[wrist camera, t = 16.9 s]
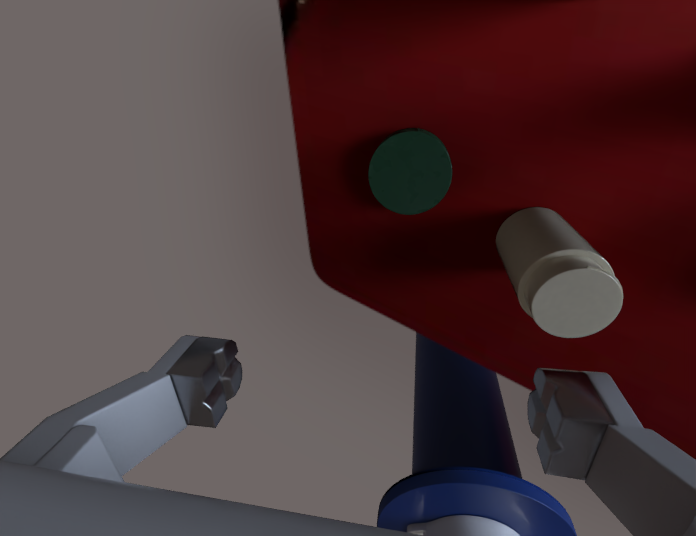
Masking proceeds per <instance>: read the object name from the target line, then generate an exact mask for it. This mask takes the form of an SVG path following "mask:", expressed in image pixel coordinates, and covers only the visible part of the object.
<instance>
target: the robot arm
mask: <svg viewBox="0 0 696 536" xmlns="http://www.w3.org/2000/svg"><path fill="white" fill-rule="evenodd" d="M237 352H238V350H237V346H236V342H234V341H232V340H226V339H218V338H210V337H198V336H190V335H185V336H183V337H181V338H180V339H179V340H178V341H177V342H176V343H175V344H174V345H173V346H172V347H171V348H170V349H169V350H168V351H167V352H166V353H165V354H164V355H163V356H162V357H161V359H160V360H159V361H158V362H157V363H156V364H155V365H154V366H153V367H152V368H151V369H150V370H149V371H148V372H141V373H139V374H137V375H135V376H133V377H131V378H128V379H126V380H124V381H122V382H120V383H118V384H116V385H114V386H112V387H110V388H107V389H105V390H103V391H101V392H99V393H97V394H95V395H93V396H91V397H89V398H86V399H84V400H82V401H80V402H78V403H77V404H74V405H72V406H70V407H68V408H65V409H63V410H61V411H59V412H57V413H55V414H53V415H51V416H49V417H47V418H46V419H44V420H43V421H42V422H41V423H40V424H39V425H37V426H36V427H35V428H34V429H33V430H32V431H31V432H30V433H29V434H27V435H26V436H25V437H24V438H23V439H22V440H21V441H20V442H18V443H17V444H16V445H15V446H14V447H13V448H12V449H11V450H10V451H8V452H7V453H6V454H5V455H4V456H3V457H2V458H0V536H520V535H519V534H518V533H517V532H516V531H514V530H513V529H511V528H510V527H508V526H506V525H504V524H502V523H500V522H497V521H494V520H491V519H488V518H484V517H478V516H470V515H454V516H447V517H442V518H439V519H436V520H434V521H431V522H427V523H414V524H410V525H408V526H407V532H401V531H396V530H390V529H384V528H379V527H373V526H367V525H362V524H355V523H350V522H345V521H339V520H333V519H327V518H322V517H317V516H311V515H305V514H300V513H294V512H289V511H283V510H277V509H272V508H266V507H260V506H255V505H249V504H243V503H238V502H232V501H227V500H221V499H215V498H210V497H204V496H199V495H193V494H187V493H182V492H176V491H170V490H165V489H159V488H153V487H148V486H142V485H137V484H131V483H125V482H124V480H123V478H122V475H124V474H125V473H126V472H128V471H129V470H130V469H132V468H133V467H134V466H136V465H137V464H138V463H140V462H141V461H142V460H144V459H145V458H146V457H148V456H149V455H150V454H151V453H153V452H154V451H155V450H157V449H158V448H159V447H161V446H162V445H163V444H165V443H166V442H167V441H169V440H170V439H171V438H173V437H174V436H175V435H177V434H178V433H179V432H180V431H182V430H183V429H184V428H186V427H187V425H194V426H204V427H213V428H216V426H217V425H218V423H219V421H220V420H221V418H222V416H223V415H224V413H225V411H226V410H227V404H226V401H228V400H229V399H231V398H232V397H234V396H235V395H236V393H237V391H238V389H239V388H240V384H241V380H242V367H241V363H240V362H239V361H238V360H237V359H236V358H235V355H236V354H237ZM533 381H534V383H535V386H536V389H535V390H533V391H532V392H531V393H530V395H529V399H528V420H529V424H530V428H531V431H532V433H533V434H535V435H536V436H537V437H538V438H539V441H538V445H537V451H538V454H539V457H540V460H541V463H542V466H543V469H544V473H545V474H550V475H556V476H562V477H568V478H575V479H580V480H586V481H585V483H586V484H587V485H588V486H589V487H590V488H591V489H592V491H593V492H594V493H595V494H596V495H597V496H598V497H599V498H600V499H601V500H602V502H603V503H604V504H605V505H606V506H607V507H608V508H609V509H610V510H611V512H612V513H613V514H614V515H615V516H616V517H617V518H618V519H619V520H620V522H621V523H622V524H623V525H624V526H625V527H626V528H627V529H628V530H629V531H630V533H631V534H632V535H633V536H696V460H695V459H694V458H692V457H691V456H689V455H688V454H686V453H685V452H683V451H682V450H681V449H679V448H678V447H676V446H675V445H673V444H672V443H670V442H669V441H668V440H666V439H665V438H663V437H662V436H660V435H659V434H657V433H656V432H655V431H653V430H651V429H644V428H643V426H642V424H641V423H640V421H639V420H638V418H637V417H636V415H635V414H634V412H633V410H632V409H631V407H630V406H629V404H628V403H627V401H626V400H625V398H624V397H623V395H622V393H621V392H620V390H619V389H618V387H617V386H616V384H615V383H614V381H613V379H612V378H611V376H610V375H608V374H607V373H601V372H587V371H582V372H580V371H569V370H557V369H545V368H538V369H537V370H536V372H535V375H534V379H533Z"/></svg>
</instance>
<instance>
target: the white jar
mask: <svg viewBox="0 0 696 536" xmlns="http://www.w3.org/2000/svg"><path fill="white" fill-rule="evenodd" d="M496 249H497V252H498V254H499V257H500V259H501V261H502V263H503V266H504V268H505V270H506V273H507V275H508V277H509V280H510V282H511V284H512V287H513V289H514V291H515V294H516V296H517V298H518V300H519V303H520V305H521V307H522V308H523V310H524V311H525V312H526V313H527V314H528V315H529V316H531V317H532V318H533V319H534V320H535V322H536V323H537V325H538V326H539V327H540V328H541V329H543V330H544V331H546V332H548V333H550V334H552V335H555V336H558V337H564V338H577V337H583V336H588V335H591V334H594V333H596V332H598V331H600V330H602V329H603V328H605V327H606V326H608V325H609V324H610V323H611V322H612V321H613V320H614V319H615V318H616V316H617V315H618V314H619V312H620V310H621V307H622V302H623V291H622V289H623V288H622V286H621V284H620V283H619V281H618V279H617V278H616V277H615V275H614V272H613V269H612V267H611V266H610V264H609V263H608V262H607V261H606V260H605V259H604V258H603V257H602V256H601V255H600V254H599V253H598V252H597V251H596V250H595V249H594V248H593V247H592V246H591V245H590V244H589V243H588V242H587V241H586V240H585V239H584V238H583V237H582V236H581V235H580V234H579V233H578V232H577V231H576V230H575V229H574V228H573V227H572V226H571V225H570V224H569V223H568V222H567V221H565V220H564V219H563V218H562V217H561V216H560V215H559V214H558V213H556V212H555V211H553V210H550V209H547V208H541V207H533V208H527V209H523V210H521V211H518V212H516V213H514V214H513V215H511V216H510V217H509V218H507V219H506V220H505V221H504V223H503V224H502V225H501V227H500V228H499V231H498V233H497V236H496Z"/></svg>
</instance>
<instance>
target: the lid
mask: <svg viewBox="0 0 696 536" xmlns="http://www.w3.org/2000/svg"><path fill="white" fill-rule="evenodd" d="M368 178H369V184H370V188H371V190H372V192H373V194H374V196H375V197H376V199H377V200H378V201H379V202H380V203H381V204H382V205H383V206H384V207H386V208H387V209H389V210H391V211H393V212H396V213H399V214H405V215H412V214H418V213H422V212H425V211H427V210H429V209H431V208H432V207H434V206H435V205H437V204H438V203H439V202H440V201H441V200H442V198H443V197H444V196H445V194H446V193H447V191H448V189H449V186H450V183H451V179H452V164H451V160H450V157H449V154H448V151H447V149H446V147H445V145H444V144H443V143H442V141H441V140H440V139H439V138H438V137H437V136H435V135H434V134H432V133H430V132H429V131H426V130H423V129H419V128H407V129H402V130H399V131H396V132H394V133H392V134H391V135H389V136H388V137H387V138H386V139H384V140H383V141H382V143H381V144H380V145H379V147H378V148H377V149H376V151H375V152H374V154H373V156H372V158H371V161H370V165H369V171H368Z"/></svg>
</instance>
